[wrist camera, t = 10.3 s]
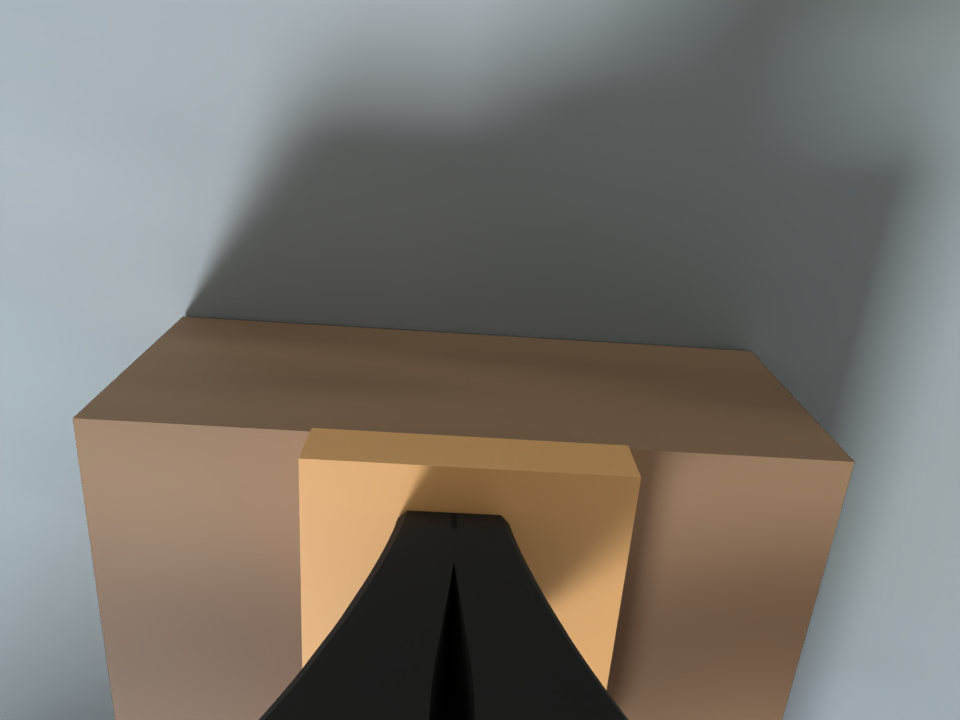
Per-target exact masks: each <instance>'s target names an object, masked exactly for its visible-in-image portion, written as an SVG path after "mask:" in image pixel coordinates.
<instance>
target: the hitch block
mask: <svg viewBox="0 0 960 720" xmlns="http://www.w3.org/2000/svg"><path fill="white" fill-rule="evenodd" d="M73 424H74V431H75V438H76V445H77V452H78V459H79V467H80V474H81V481H82V488H83V495H84V502H85V509H86V516H87V524H88V531H89V538H90V545H91V552H92V559H93V566H94V573H95V580H96V588H97V595H98V602H99V609H100V616H101V623H102V630H103V637H104V644H105V652H106V659H107V666H108V673H109V680H110V687H111V694H112V701H113V708H114V716H115V720H259V719H260V718H261V717H262V715H263V714H264V713H265V712H266V711H267V710H268V709H269V708H270V706H271V705H272V704H273V703H274V702H275V701H276V700H277V698H278V697H279V696H280V695H281V694H282V692H283V691H284V690H285V689H286V688H287V687H288V685H289V684H290V683H291V682H292V681H293V679H294V678H295V677H296V676H297V674H298V673H299V672H300V671H301V669H302V626H301V571H300V517H299V462H298V458H299V456H300V454H301V451H302V449H303V447H304V444H305V442H306V440H307V438H308V435H309V433H310V431H311V428H324V429H341V430H359V431H377V432H395V433H413V434H431V435H448V436H466V437H484V438H502V439H520V440H538V441H555V442H573V443H591V444H609V445H627V446H629V449H630V451H631V454H632V456H633V458H634V461H635V463H636V466H637V468H638V471H639V473H640V475H641V482H640V488H639V494H638V500H637V506H636V512H635V518H634V524H633V531H632V537H631V543H630V549H629V555H628V561H627V567H626V573H625V580H624V586H623V592H622V598H621V604H620V610H619V616H618V623H617V629H616V635H615V641H614V647H613V653H612V659H611V665H610V672H609V678H608V684H607V692H608V693H609V695H610V696H611V697H612V699H613V700H614V701H615V703H616V704H617V705H618V707H619V708H620V709H621V711H622V712H623V713H624V714H625V716H626V717H627V718H628V720H782V718H783V714H784V711H785V707H786V704H787V700H788V697H789V693H790V690H791V686H792V682H793V679H794V675H795V672H796V668H797V665H798V661H799V658H800V654H801V650H802V647H803V643H804V640H805V636H806V633H807V629H808V626H809V622H810V619H811V615H812V611H813V608H814V604H815V601H816V597H817V594H818V590H819V587H820V583H821V579H822V576H823V572H824V569H825V565H826V562H827V558H828V555H829V551H830V548H831V544H832V540H833V537H834V533H835V530H836V526H837V523H838V519H839V516H840V512H841V508H842V505H843V501H844V498H845V494H846V491H847V487H848V484H849V480H850V476H851V473H852V469H853V466H854V461H853V460H852V459H851V458H850V457H849V455H848V454H847V453H846V452H845V451H844V450H843V449H842V448H841V447H840V446H839V445H838V444H837V443H836V442H835V440H834V439H833V438H832V437H831V436H830V435H829V434H828V433H827V432H826V431H825V430H824V429H823V428H822V427H821V425H820V424H819V423H818V422H817V421H816V420H815V419H814V418H813V417H812V416H811V415H810V414H809V413H808V412H807V410H806V409H805V408H804V407H803V406H802V405H801V404H800V403H799V402H798V401H797V400H796V399H795V398H794V397H793V395H792V394H791V393H790V392H789V391H788V390H787V389H786V388H785V387H784V386H783V385H782V384H781V383H780V382H779V380H778V379H777V378H776V377H775V376H774V375H773V374H772V373H771V372H770V371H769V370H768V369H767V368H766V367H765V365H764V364H763V363H762V362H761V361H760V360H759V359H758V358H757V357H756V356H755V355H754V354H753V353H752V352H751V351H742V350H725V349H709V348H692V347H676V346H659V345H643V344H626V343H610V342H593V341H577V340H561V339H544V338H528V337H511V336H495V335H478V334H462V333H445V332H429V331H412V330H396V329H380V328H363V327H347V326H330V325H314V324H297V323H281V322H264V321H248V320H231V319H215V318H198V317H182V318H181V319H180V320H179V321H178V322H177V323H176V324H174V325H173V326H172V327H171V328H170V329H169V330H168V331H167V332H166V333H165V334H164V335H163V336H161V337H160V338H159V339H158V340H157V341H156V342H155V343H154V344H153V345H152V346H151V347H149V348H148V349H147V350H146V351H145V352H144V353H143V354H142V355H141V356H140V357H139V358H138V359H136V360H135V361H134V362H133V363H132V364H131V365H130V366H129V367H128V368H127V369H126V370H125V371H123V372H122V373H121V374H120V375H119V376H118V377H117V378H116V379H115V380H114V381H113V382H111V383H110V384H109V385H108V386H107V387H106V388H105V389H104V390H103V391H102V392H101V393H100V394H98V395H97V396H96V397H95V398H94V399H93V400H92V401H91V402H90V403H89V404H88V405H87V406H85V407H84V408H83V409H82V410H81V411H80V412H79V413H78V414H77V415H76V416H75V417H74V418H73Z"/></svg>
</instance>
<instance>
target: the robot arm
mask: <svg viewBox="0 0 960 720" xmlns="http://www.w3.org/2000/svg"><path fill="white" fill-rule="evenodd" d="M259 720H628V718H627V717H626V716H625V714H624V713H623V712H622V711H621V709H620V708H619V707H618V705H617V704H616V703H615V701H614V700H613V699H612V697H611V696H610V695H609V693H608V692H607V690H606V689H605V688H604V686H603V685H602V683H601V682H600V681H599V679H598V678H597V676H596V675H595V674H594V672H593V671H592V669H591V668H590V667H589V665H588V664H587V662H586V661H585V659H584V658H583V656H582V655H581V653H580V652H579V651H578V649H577V648H576V646H575V645H574V643H573V642H572V640H571V638H570V637H569V635H568V634H567V632H566V630H565V629H564V627H563V625H562V624H561V622H560V621H559V619H558V617H557V616H556V614H555V613H554V611H553V609H552V608H551V606H550V604H549V603H548V601H547V599H546V598H545V596H544V594H543V592H542V591H541V589H540V587H539V585H538V584H537V582H536V580H535V578H534V576H533V574H532V572H531V570H530V569H529V567H528V565H527V563H526V561H525V559H524V557H523V555H522V553H521V551H520V549H519V546H518V544H517V542H516V540H515V537H514V535H513V533H512V530H511V528H510V525H509V523H508V522H507V521H506V520H505V519H504V518H503V517H502V515H489V514H469V513H449V512H428V511H408V510H407V511H406V512H405V513H404V514H402V515H401V516H400V517H398V519H397V521H396V524H395V527H394V529H393V532H392V534H391V536H390V538H389V540H388V542H387V544H386V546H385V548H384V550H383V551H382V553H381V555H380V557H379V559H378V560H377V562H376V564H375V565H374V567H373V569H372V571H371V572H370V574H369V576H368V577H367V579H366V580H365V582H364V583H363V585H362V586H361V588H360V589H359V591H358V592H357V594H356V595H355V597H354V598H353V600H352V601H351V603H350V604H349V606H348V607H347V609H346V610H345V612H344V614H343V615H342V617H341V618H340V619H339V621H338V622H337V624H336V625H335V626H334V628H333V629H332V630H331V632H330V633H329V634H328V636H327V637H326V638H325V639H324V641H323V642H322V643H321V645H320V646H319V647H318V649H317V650H316V651H315V652H314V654H313V655H312V656H311V658H310V659H309V660H308V662H307V663H306V664H305V665H304V667H303V668H302V669H301V671H300V672H299V673H298V674H297V676H296V677H295V678H294V679H293V681H292V682H291V683H290V684H289V685H288V687H287V688H286V689H285V690H284V691H283V692H282V694H281V695H280V696H279V697H278V698H277V700H276V701H275V702H274V703H273V704H272V705H271V706H270V708H269V709H268V710H267V711H266V712H265V713H264V714H263V715H262V717H261V718H260V719H259Z"/></svg>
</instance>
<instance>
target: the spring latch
mask: <svg viewBox="0 0 960 720" xmlns="http://www.w3.org/2000/svg"><path fill="white" fill-rule="evenodd" d="M298 462H299V517H300V571H301V626H302V668H303V667H304V665H305V664H306V663H307V662H308V660H309V659H310V658H311V656H312V655H313V654H314V652H315V651H316V650H317V649H318V647H319V646H320V645H321V643H322V642H323V641H324V639H325V638H326V637H327V636H328V634H329V633H330V632H331V630H332V629H333V628H334V626H335V625H336V624H337V622H338V621H339V619H340V618H341V617H342V615H343V614H344V612H345V610H346V609H347V607H348V606H349V604H350V603H351V601H352V600H353V598H354V597H355V595H356V594H357V592H358V591H359V589H360V588H361V586H362V585H363V583H364V582H365V580H366V579H367V577H368V576H369V574H370V572H371V571H372V569H373V567H374V565H375V564H376V562H377V560H378V559H379V557H380V555H381V553H382V551H383V550H384V548H385V546H386V544H387V542H388V540H389V538H390V536H391V534H392V532H393V529H394V527H395V524H396V521H397V519H398V517H400V516H401V515H402V514H404V513H405V512H406V511H407V510H408V511H428V512H449V513H469V514H489V515H502V517H503V518H504V519H505V520H506V521H507V522H508V523H509V525H510V528H511V530H512V533H513V535H514V537H515V540H516V542H517V544H518V546H519V549H520V551H521V553H522V555H523V557H524V559H525V561H526V563H527V565H528V567H529V569H530V570H531V572H532V574H533V576H534V578H535V580H536V582H537V584H538V585H539V587H540V589H541V591H542V592H543V594H544V596H545V598H546V599H547V601H548V603H549V604H550V606H551V608H552V609H553V611H554V613H555V614H556V616H557V617H558V619H559V621H560V622H561V624H562V625H563V627H564V629H565V630H566V632H567V634H568V635H569V637H570V638H571V640H572V642H573V643H574V645H575V646H576V648H577V649H578V651H579V652H580V653H581V655H582V656H583V658H584V659H585V661H586V662H587V664H588V665H589V667H590V668H591V669H592V671H593V672H594V674H595V675H596V676H597V678H598V679H599V681H600V682H601V683H602V685H603V686H604V688H605V689H606V690H607V684H608V678H609V672H610V665H611V659H612V653H613V647H614V641H615V635H616V629H617V623H618V616H619V610H620V604H621V598H622V592H623V586H624V580H625V573H626V567H627V561H628V555H629V549H630V543H631V537H632V531H633V524H634V518H635V512H636V506H637V500H638V494H639V488H640V482H641V475H640V473H639V471H638V468H637V466H636V463H635V461H634V458H633V456H632V454H631V451H630V449H629V446H627V445H609V444H591V443H573V442H555V441H538V440H520V439H502V438H484V437H466V436H448V435H431V434H413V433H395V432H377V431H359V430H341V429H324V428H311V431H310V433H309V435H308V438H307V440H306V442H305V444H304V447H303V449H302V451H301V454H300V456H299V458H298Z"/></svg>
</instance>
